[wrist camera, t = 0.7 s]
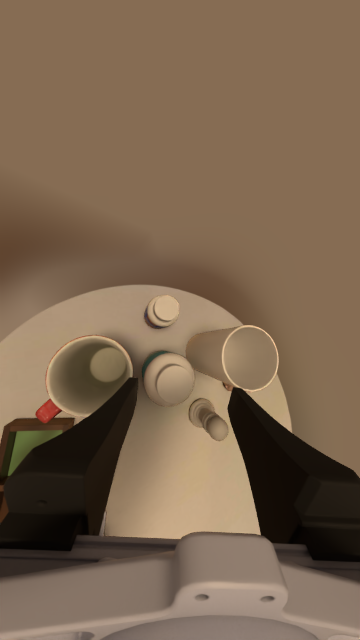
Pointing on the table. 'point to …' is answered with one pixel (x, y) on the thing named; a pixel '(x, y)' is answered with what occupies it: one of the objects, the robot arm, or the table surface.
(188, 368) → the pill bottle
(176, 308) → the pill bottle
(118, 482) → the table surface
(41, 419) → the mug
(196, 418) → the chess piece
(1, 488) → the tray
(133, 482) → the table surface
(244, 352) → the cup
